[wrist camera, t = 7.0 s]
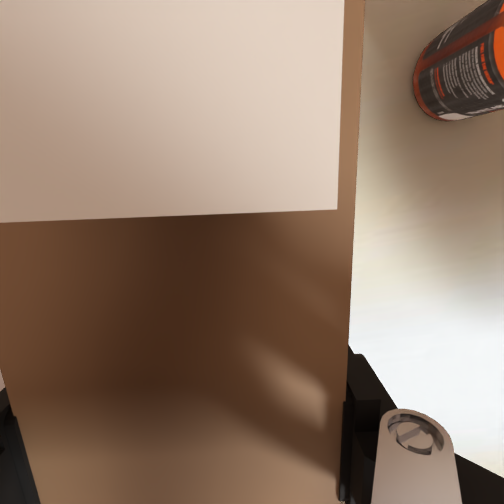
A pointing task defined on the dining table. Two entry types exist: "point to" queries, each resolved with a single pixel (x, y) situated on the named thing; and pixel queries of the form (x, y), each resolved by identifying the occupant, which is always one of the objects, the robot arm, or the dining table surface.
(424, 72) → the supplement bottle
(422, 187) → the dining table surface
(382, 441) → the robot arm
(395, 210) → the dining table surface
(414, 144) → the dining table surface
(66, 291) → the brown long block
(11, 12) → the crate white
